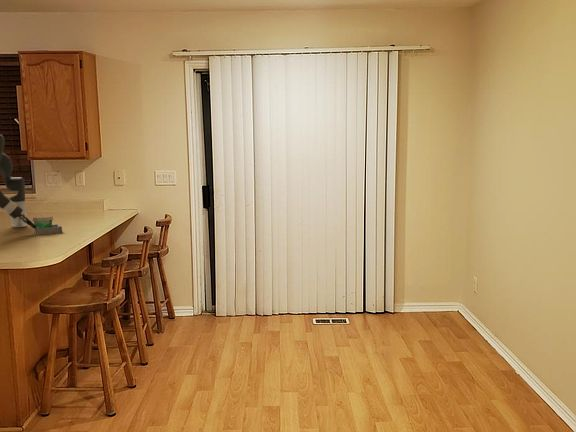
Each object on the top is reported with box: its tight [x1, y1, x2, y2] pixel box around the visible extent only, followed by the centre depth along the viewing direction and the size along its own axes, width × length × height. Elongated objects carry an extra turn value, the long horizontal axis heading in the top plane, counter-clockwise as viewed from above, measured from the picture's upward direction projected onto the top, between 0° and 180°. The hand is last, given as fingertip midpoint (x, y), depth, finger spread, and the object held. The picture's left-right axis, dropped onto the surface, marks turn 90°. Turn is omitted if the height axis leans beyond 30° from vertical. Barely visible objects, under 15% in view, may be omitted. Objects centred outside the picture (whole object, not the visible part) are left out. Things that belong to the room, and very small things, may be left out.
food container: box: [32, 216, 54, 234], centre depth 374 cm, size 12×6×10 cm, turn 99°
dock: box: [34, 223, 63, 236], centre depth 376 cm, size 12×14×4 cm
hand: (35, 227), depth 372 cm, fingers closed
